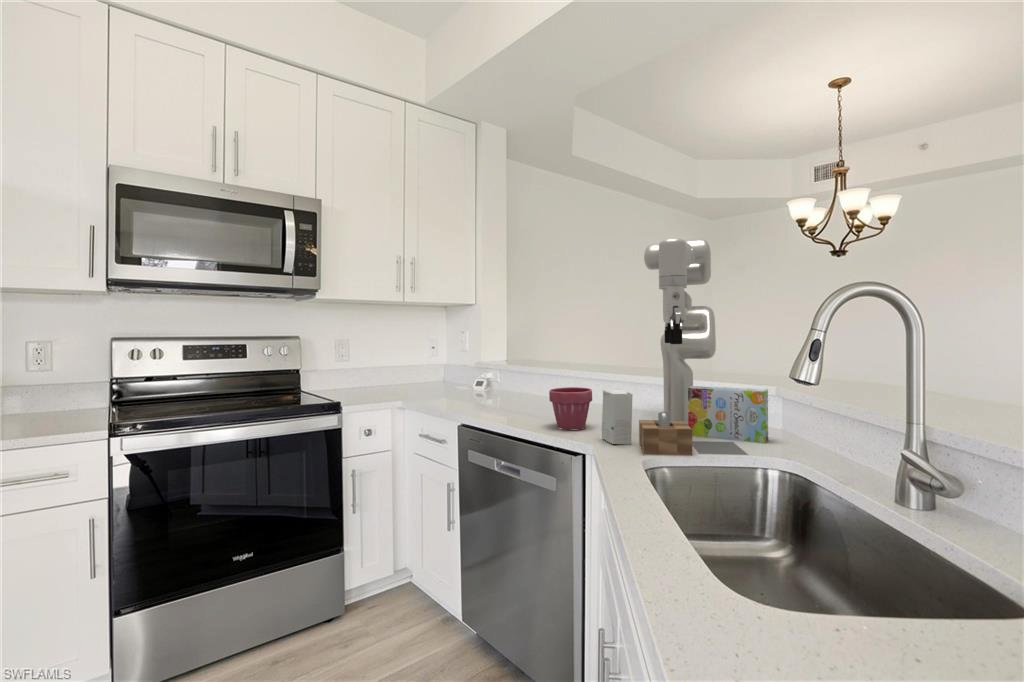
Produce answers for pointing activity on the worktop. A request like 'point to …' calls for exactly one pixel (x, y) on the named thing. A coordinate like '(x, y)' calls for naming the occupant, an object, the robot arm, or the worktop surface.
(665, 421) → the pin
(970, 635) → the worktop surface
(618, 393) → the skincare box
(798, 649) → the worktop surface
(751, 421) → the snack box
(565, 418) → the plant pot
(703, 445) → the mat
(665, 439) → the hole block
